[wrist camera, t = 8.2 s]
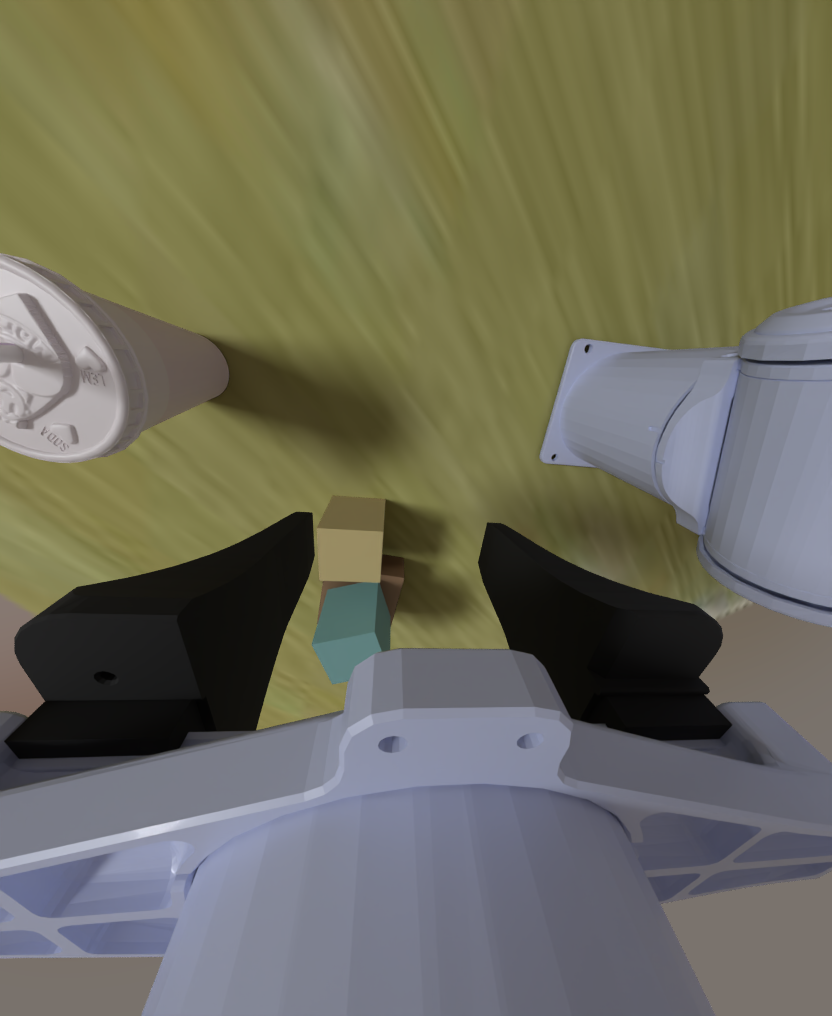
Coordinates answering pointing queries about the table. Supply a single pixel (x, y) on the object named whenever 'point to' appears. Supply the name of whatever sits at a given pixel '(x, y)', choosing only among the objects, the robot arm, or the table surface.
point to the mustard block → (351, 539)
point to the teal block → (351, 628)
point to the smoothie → (90, 368)
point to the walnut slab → (388, 581)
